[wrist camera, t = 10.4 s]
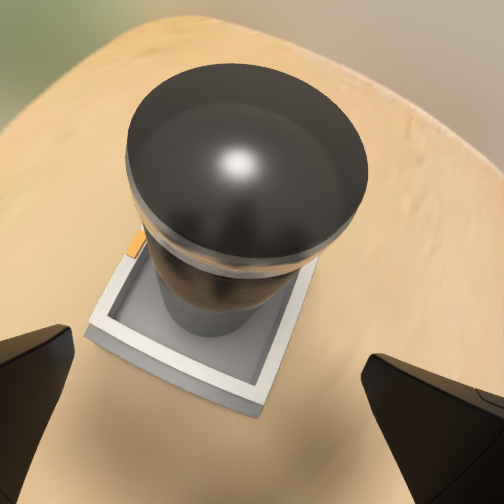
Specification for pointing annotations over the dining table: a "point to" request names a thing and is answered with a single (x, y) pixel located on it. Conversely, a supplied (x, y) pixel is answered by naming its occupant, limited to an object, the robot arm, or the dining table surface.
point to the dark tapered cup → (239, 187)
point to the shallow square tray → (190, 345)
